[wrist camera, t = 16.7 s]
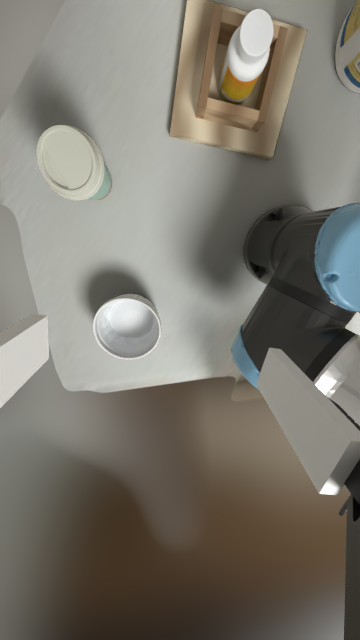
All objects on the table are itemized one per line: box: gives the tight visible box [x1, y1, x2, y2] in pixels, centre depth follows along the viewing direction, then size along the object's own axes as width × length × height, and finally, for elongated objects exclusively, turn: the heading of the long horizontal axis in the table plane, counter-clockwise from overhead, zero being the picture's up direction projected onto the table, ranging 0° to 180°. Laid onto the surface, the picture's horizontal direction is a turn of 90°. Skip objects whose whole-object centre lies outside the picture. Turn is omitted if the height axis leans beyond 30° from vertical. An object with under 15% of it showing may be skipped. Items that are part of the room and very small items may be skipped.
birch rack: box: [170, 0, 307, 159], centre depth 34 cm, size 18×16×5 cm
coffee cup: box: [36, 125, 112, 200], centre depth 34 cm, size 8×8×12 cm
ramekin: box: [93, 294, 161, 360], centre depth 46 cm, size 13×13×7 cm
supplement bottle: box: [218, 9, 274, 105], centre depth 30 cm, size 5×5×10 cm
